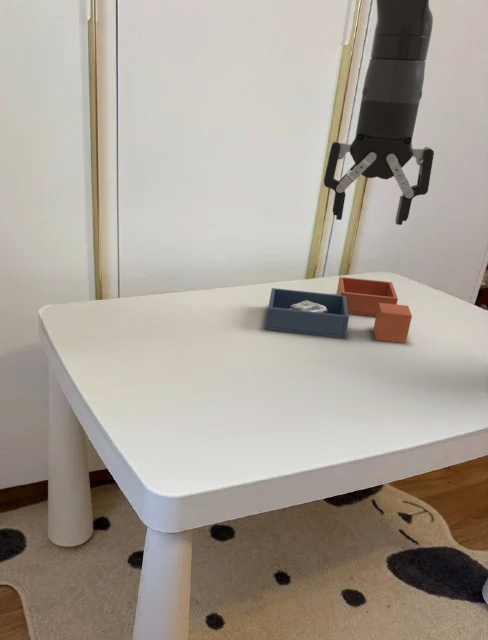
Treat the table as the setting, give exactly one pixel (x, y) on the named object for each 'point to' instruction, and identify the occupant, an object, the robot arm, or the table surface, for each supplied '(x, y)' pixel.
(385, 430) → the table surface
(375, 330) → the terracotta block
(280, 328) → the blue bin
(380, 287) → the terracotta bin
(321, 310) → the toy car
